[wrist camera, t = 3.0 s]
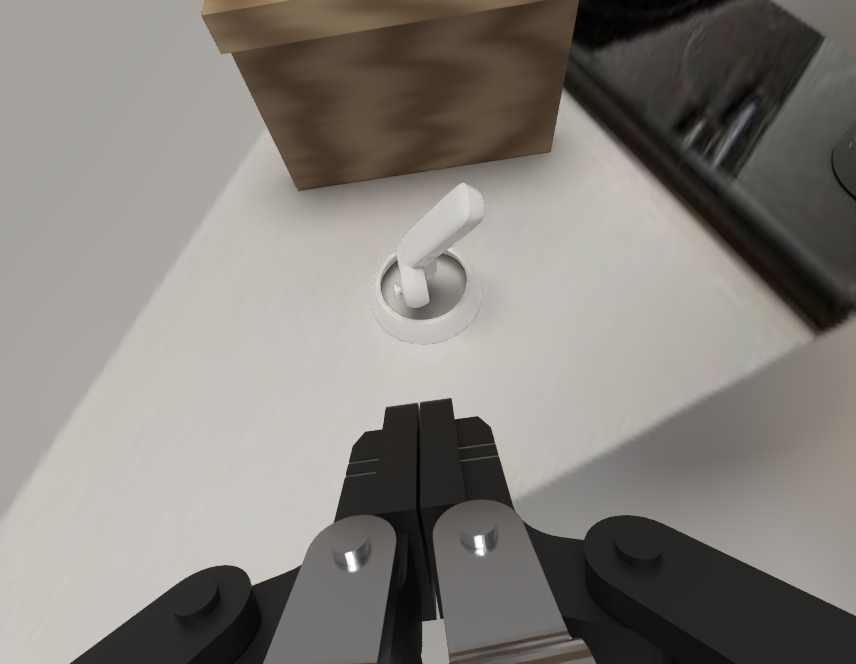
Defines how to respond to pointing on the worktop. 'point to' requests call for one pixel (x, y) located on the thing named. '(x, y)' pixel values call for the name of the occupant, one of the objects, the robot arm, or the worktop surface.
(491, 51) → the wall board
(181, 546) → the worktop surface
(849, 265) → the worktop surface
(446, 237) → the white lever switch
